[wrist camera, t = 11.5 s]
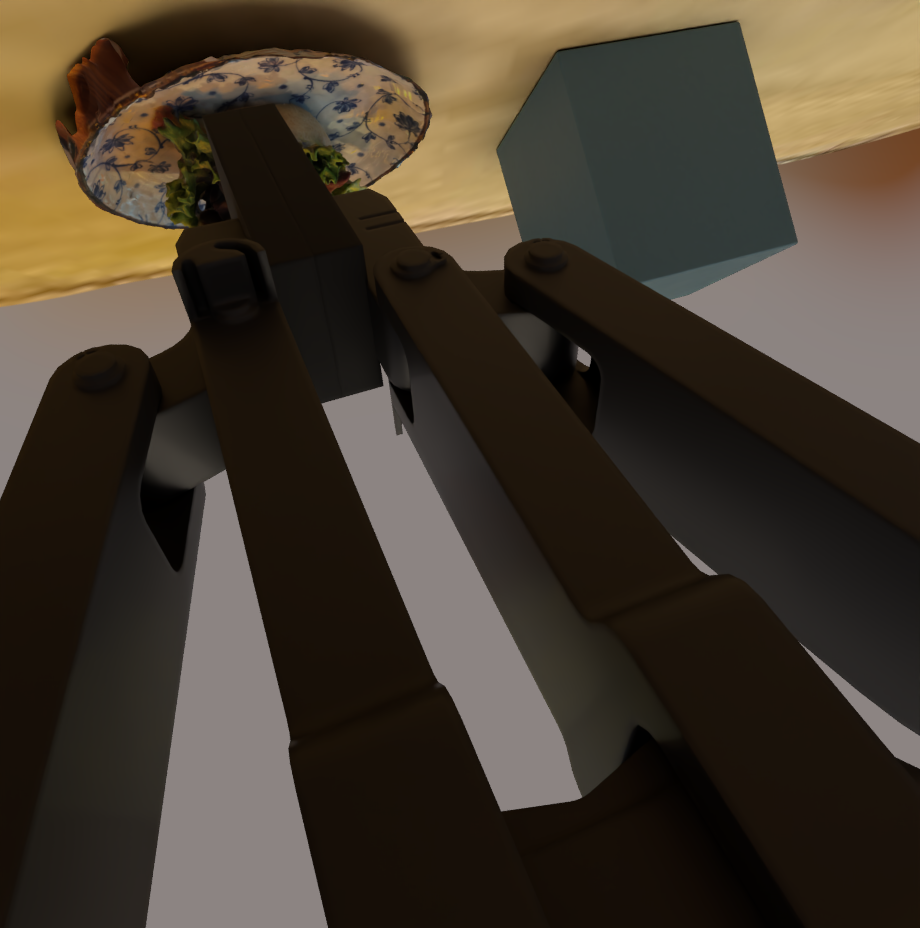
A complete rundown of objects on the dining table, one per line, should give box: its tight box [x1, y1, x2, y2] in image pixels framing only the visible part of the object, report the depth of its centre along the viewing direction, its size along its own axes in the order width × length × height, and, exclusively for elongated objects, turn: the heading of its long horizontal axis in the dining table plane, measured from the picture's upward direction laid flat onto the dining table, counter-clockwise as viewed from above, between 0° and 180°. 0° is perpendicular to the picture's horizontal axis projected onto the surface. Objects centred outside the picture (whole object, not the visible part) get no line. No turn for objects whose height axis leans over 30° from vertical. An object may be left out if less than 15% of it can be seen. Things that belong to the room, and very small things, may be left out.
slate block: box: [497, 22, 798, 300], centre depth 31 cm, size 8×8×9 cm
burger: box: [55, 38, 432, 229], centre depth 24 cm, size 12×12×8 cm
